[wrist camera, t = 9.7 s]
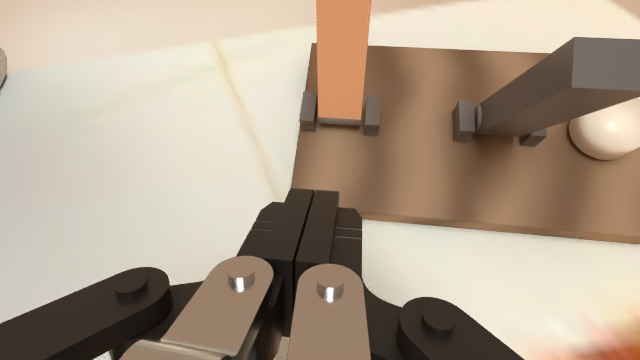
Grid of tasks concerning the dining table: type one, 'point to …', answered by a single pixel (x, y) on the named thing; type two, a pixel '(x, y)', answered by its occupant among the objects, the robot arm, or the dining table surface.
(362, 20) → the orange block
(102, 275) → the dining table surface
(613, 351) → the dining table surface
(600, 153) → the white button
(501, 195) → the switch board
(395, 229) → the dining table surface
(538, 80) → the long grey beam
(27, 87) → the dining table surface
